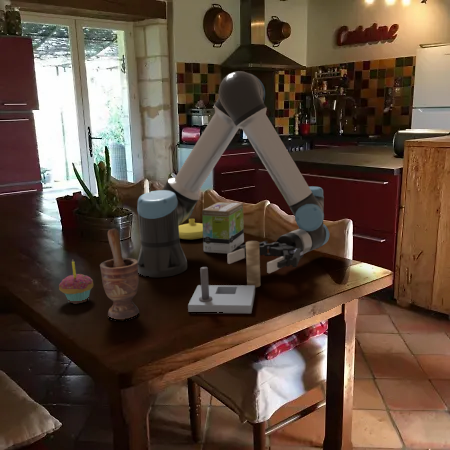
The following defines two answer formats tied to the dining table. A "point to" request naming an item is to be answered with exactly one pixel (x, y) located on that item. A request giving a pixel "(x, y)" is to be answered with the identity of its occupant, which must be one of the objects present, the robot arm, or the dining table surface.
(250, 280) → the dowel
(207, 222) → the tea box
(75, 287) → the cupcake
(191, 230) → the yellow pot lid
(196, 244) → the dining table surface
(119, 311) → the mortar and pestle
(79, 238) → the dining table surface
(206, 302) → the board
